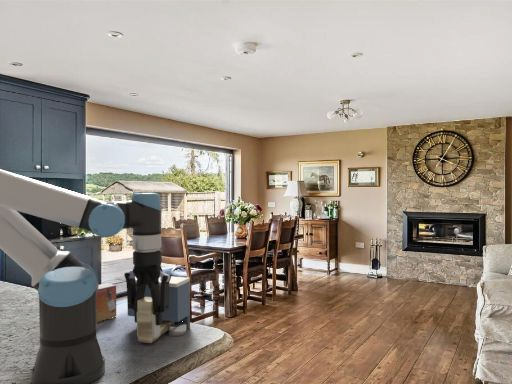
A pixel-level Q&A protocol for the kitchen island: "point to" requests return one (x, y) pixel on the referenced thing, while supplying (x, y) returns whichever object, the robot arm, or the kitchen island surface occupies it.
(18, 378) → the kitchen island surface
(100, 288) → the small box
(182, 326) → the steel token
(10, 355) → the kitchen island surface
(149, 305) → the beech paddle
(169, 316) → the navy cabinet
